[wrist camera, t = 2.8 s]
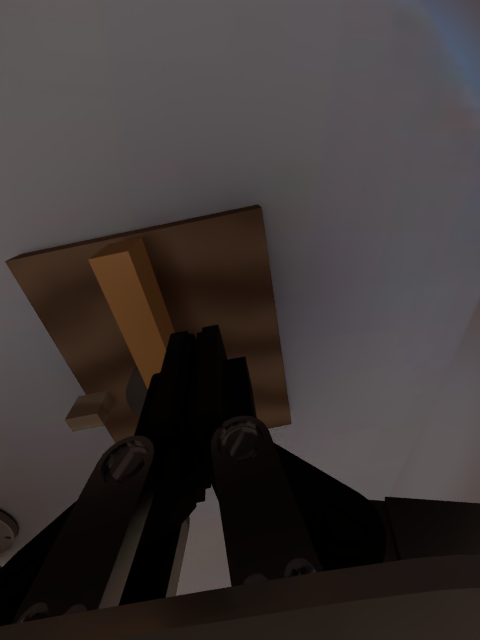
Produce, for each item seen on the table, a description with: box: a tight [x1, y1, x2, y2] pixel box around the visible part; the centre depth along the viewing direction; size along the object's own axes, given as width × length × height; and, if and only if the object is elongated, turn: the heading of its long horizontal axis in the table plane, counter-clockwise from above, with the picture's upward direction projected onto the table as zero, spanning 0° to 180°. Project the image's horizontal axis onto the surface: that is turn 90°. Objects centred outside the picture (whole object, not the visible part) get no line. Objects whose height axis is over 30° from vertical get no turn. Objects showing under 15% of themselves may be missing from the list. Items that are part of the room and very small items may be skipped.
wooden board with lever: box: [5, 205, 291, 443], centre depth 27 cm, size 24×21×5 cm
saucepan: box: [88, 238, 175, 418], centre depth 22 cm, size 16×7×4 cm, turn 11°
